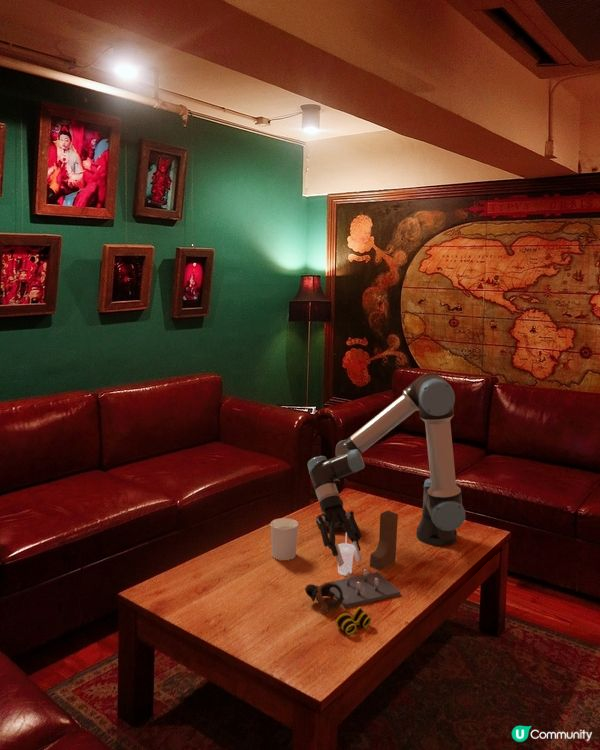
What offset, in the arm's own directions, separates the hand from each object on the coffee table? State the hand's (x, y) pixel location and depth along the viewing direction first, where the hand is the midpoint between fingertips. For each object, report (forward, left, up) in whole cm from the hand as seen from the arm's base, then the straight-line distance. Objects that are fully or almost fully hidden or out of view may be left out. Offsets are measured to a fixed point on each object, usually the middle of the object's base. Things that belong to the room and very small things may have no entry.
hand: (350, 563), depth 216 cm
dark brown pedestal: (-15, -39, -5) cm, 42 cm away
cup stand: (+1, +9, -5) cm, 11 cm away
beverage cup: (0, -4, -5) cm, 6 cm away
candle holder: (+14, -23, -5) cm, 27 cm away
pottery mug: (+16, +12, -5) cm, 21 cm away
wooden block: (-15, -4, -5) cm, 16 cm away
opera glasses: (+14, +27, -5) cm, 30 cm away
